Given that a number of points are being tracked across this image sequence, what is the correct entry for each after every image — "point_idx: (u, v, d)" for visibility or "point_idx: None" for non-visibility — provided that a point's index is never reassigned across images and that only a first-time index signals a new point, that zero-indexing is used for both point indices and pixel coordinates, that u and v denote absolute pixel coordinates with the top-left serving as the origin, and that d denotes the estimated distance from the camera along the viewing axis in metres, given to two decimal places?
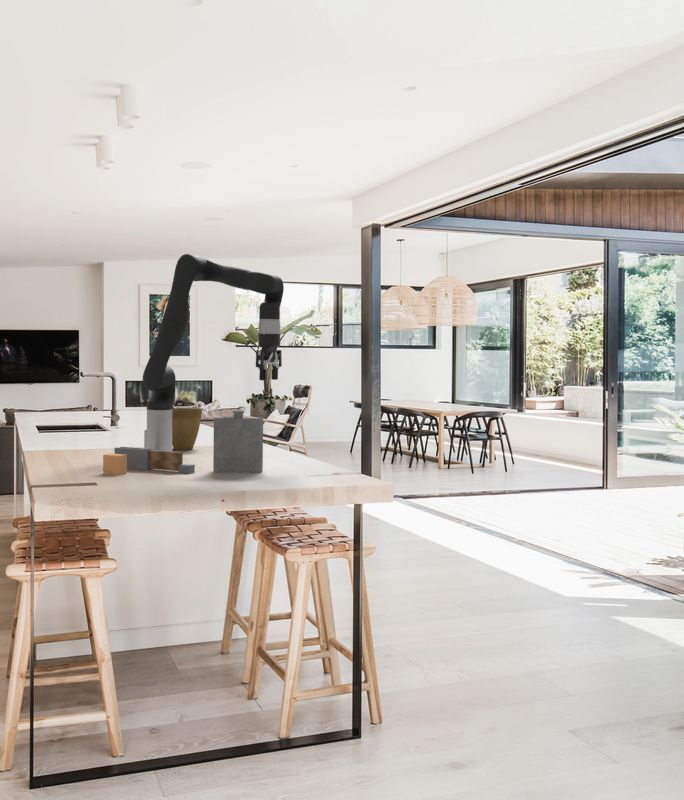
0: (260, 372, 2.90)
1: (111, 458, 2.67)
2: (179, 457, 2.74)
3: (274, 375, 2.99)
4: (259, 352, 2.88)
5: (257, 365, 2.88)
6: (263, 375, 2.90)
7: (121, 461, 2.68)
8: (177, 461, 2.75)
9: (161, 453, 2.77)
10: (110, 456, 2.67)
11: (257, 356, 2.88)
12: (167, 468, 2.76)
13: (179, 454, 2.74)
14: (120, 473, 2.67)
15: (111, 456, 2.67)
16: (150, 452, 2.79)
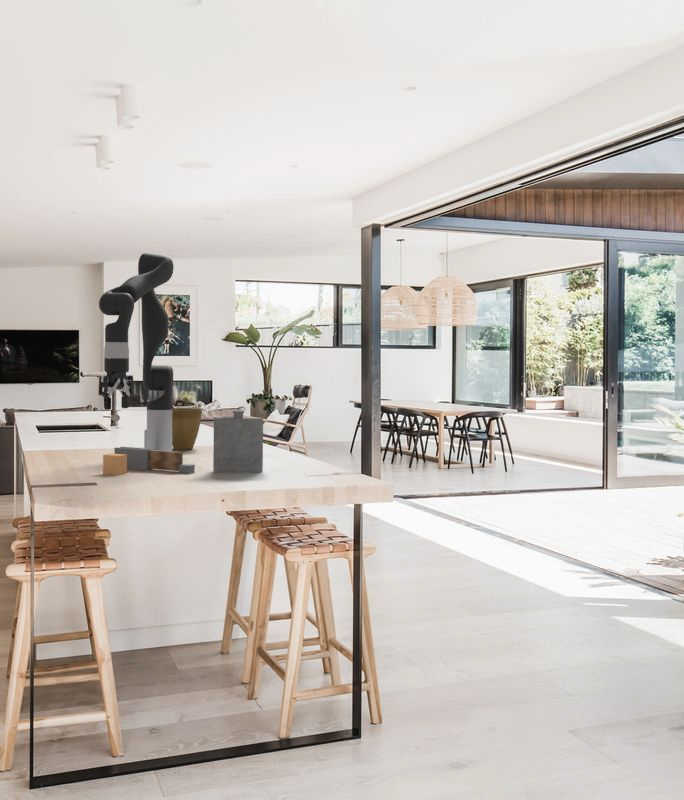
0: (104, 401, 2.63)
1: (111, 458, 2.67)
2: (179, 457, 2.74)
3: (124, 403, 2.72)
4: (102, 379, 2.62)
5: (100, 393, 2.62)
6: (107, 404, 2.63)
7: (121, 461, 2.68)
8: (177, 461, 2.75)
9: (161, 453, 2.77)
10: (110, 456, 2.67)
11: (100, 383, 2.62)
12: (167, 468, 2.76)
13: (179, 454, 2.74)
14: (120, 473, 2.67)
15: (111, 456, 2.67)
16: (150, 452, 2.79)
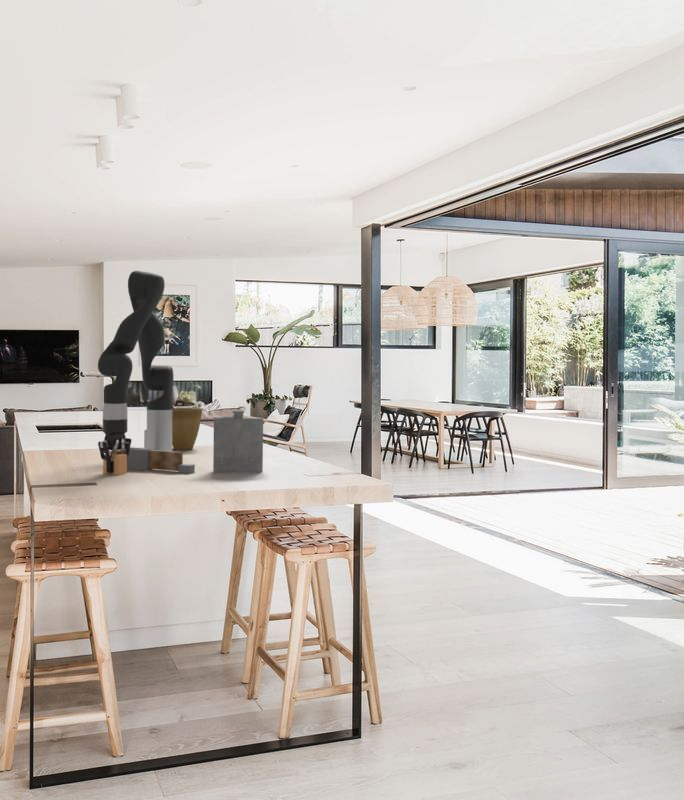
0: (107, 464, 2.66)
1: None
2: (179, 457, 2.74)
3: None
4: (101, 445, 2.63)
5: (103, 457, 2.65)
6: (110, 468, 2.66)
7: (121, 461, 2.68)
8: (177, 461, 2.75)
9: (161, 453, 2.77)
10: (110, 456, 2.67)
11: (100, 449, 2.64)
12: (167, 468, 2.76)
13: (179, 454, 2.74)
14: (120, 473, 2.67)
15: None
16: (150, 452, 2.79)
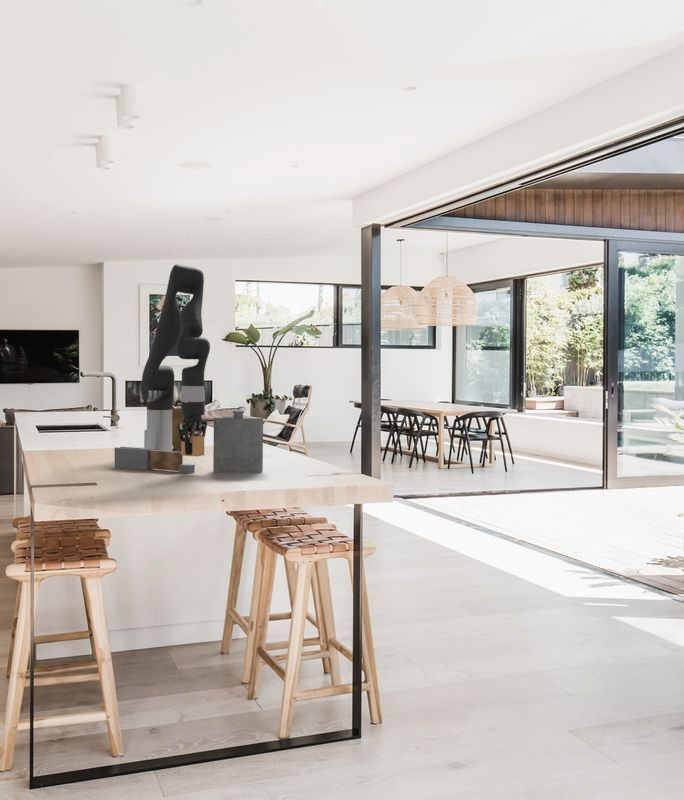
0: (185, 446, 2.70)
1: None
2: (179, 457, 2.74)
3: None
4: (181, 427, 2.67)
5: (182, 439, 2.68)
6: (189, 449, 2.70)
7: (200, 442, 2.71)
8: (177, 461, 2.75)
9: (161, 453, 2.77)
10: None
11: (180, 431, 2.67)
12: (167, 468, 2.76)
13: (179, 454, 2.74)
14: (198, 454, 2.71)
15: None
16: (150, 452, 2.79)
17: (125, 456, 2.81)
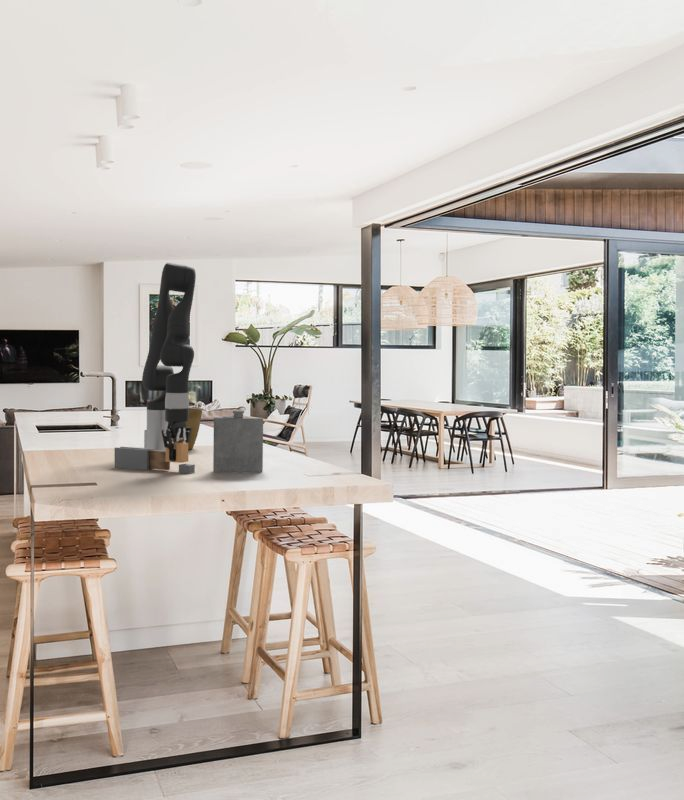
0: (169, 452, 2.73)
1: None
2: None
3: None
4: (165, 433, 2.69)
5: (166, 445, 2.71)
6: (173, 456, 2.73)
7: (184, 449, 2.74)
8: (164, 460, 2.77)
9: None
10: None
11: (164, 437, 2.70)
12: (154, 467, 2.78)
13: None
14: (182, 461, 2.74)
15: None
16: None
17: (125, 456, 2.81)
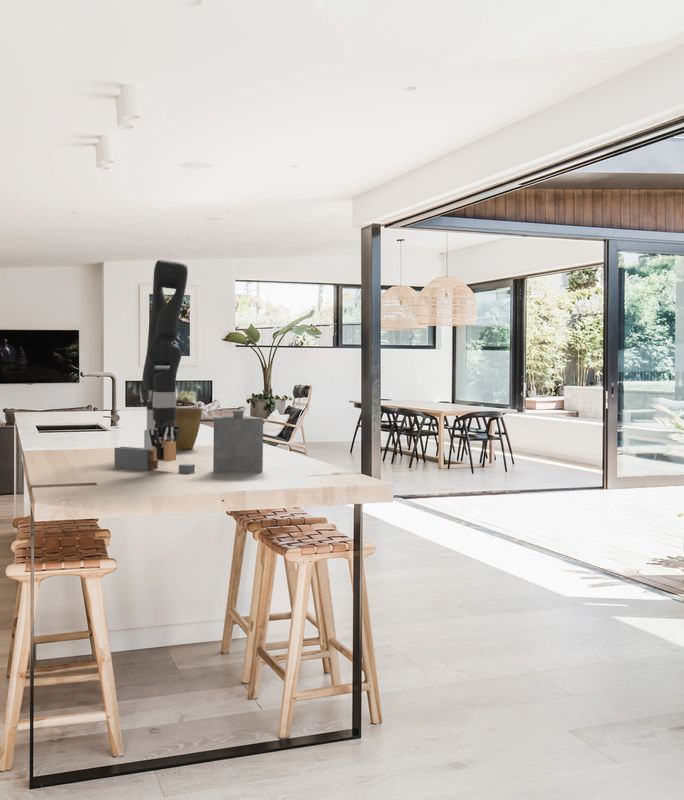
0: (157, 451, 2.75)
1: None
2: None
3: None
4: (152, 432, 2.71)
5: (153, 444, 2.73)
6: (160, 454, 2.75)
7: (171, 448, 2.76)
8: (152, 459, 2.79)
9: None
10: (160, 443, 2.76)
11: (151, 436, 2.72)
12: None
13: None
14: (170, 459, 2.75)
15: None
16: None
17: (125, 456, 2.81)
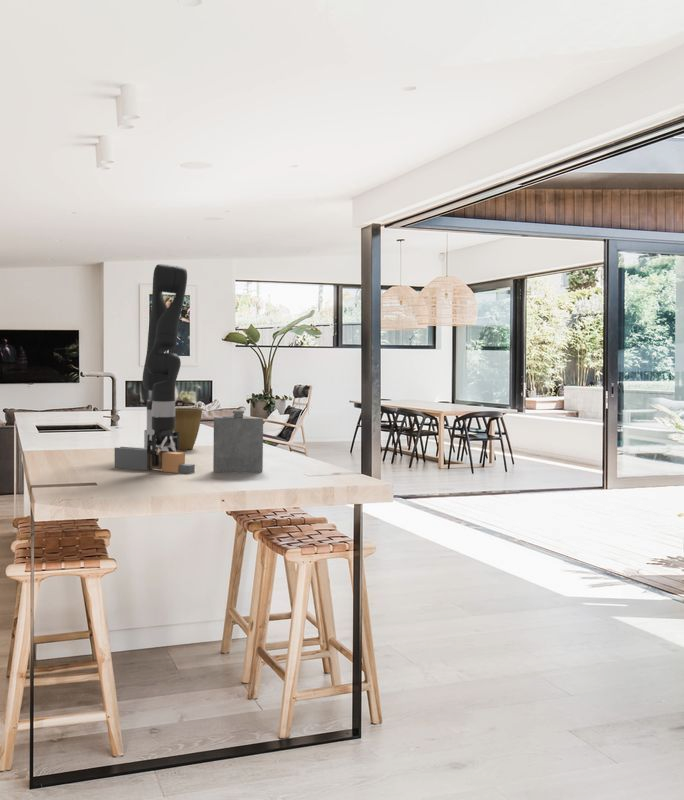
0: (152, 458, 2.73)
1: (170, 456, 2.74)
2: None
3: None
4: (150, 437, 2.71)
5: (148, 451, 2.71)
6: (155, 461, 2.73)
7: (180, 459, 2.74)
8: (161, 460, 2.77)
9: None
10: (169, 454, 2.74)
11: (148, 442, 2.71)
12: (152, 467, 2.79)
13: None
14: None
15: (170, 454, 2.74)
16: None
17: (125, 456, 2.81)
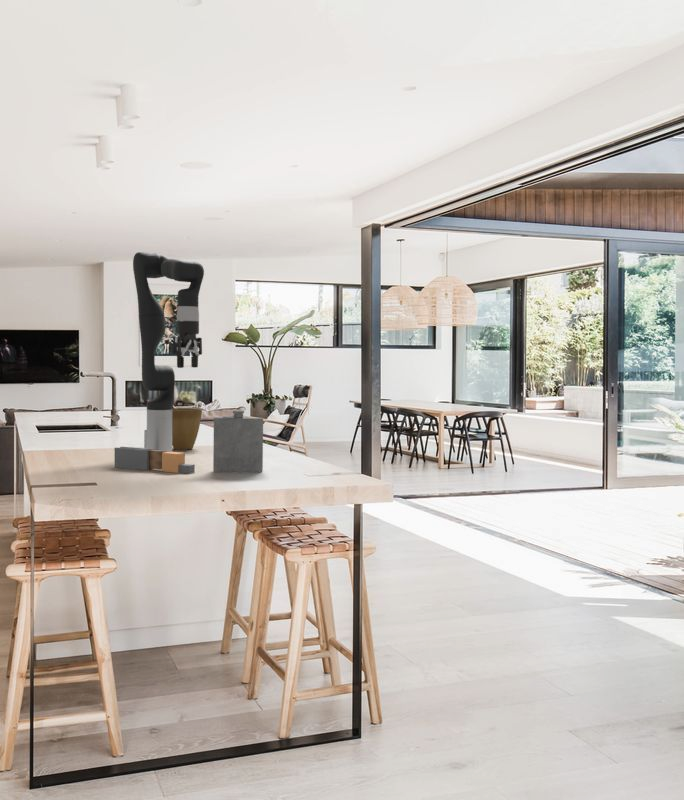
0: (177, 359, 2.89)
1: (170, 456, 2.74)
2: None
3: (193, 363, 2.97)
4: (176, 339, 2.87)
5: (174, 352, 2.87)
6: (180, 362, 2.89)
7: (180, 459, 2.74)
8: (161, 460, 2.77)
9: None
10: (169, 454, 2.74)
11: (174, 343, 2.87)
12: (152, 467, 2.79)
13: None
14: None
15: (170, 454, 2.74)
16: None
17: (125, 456, 2.81)
